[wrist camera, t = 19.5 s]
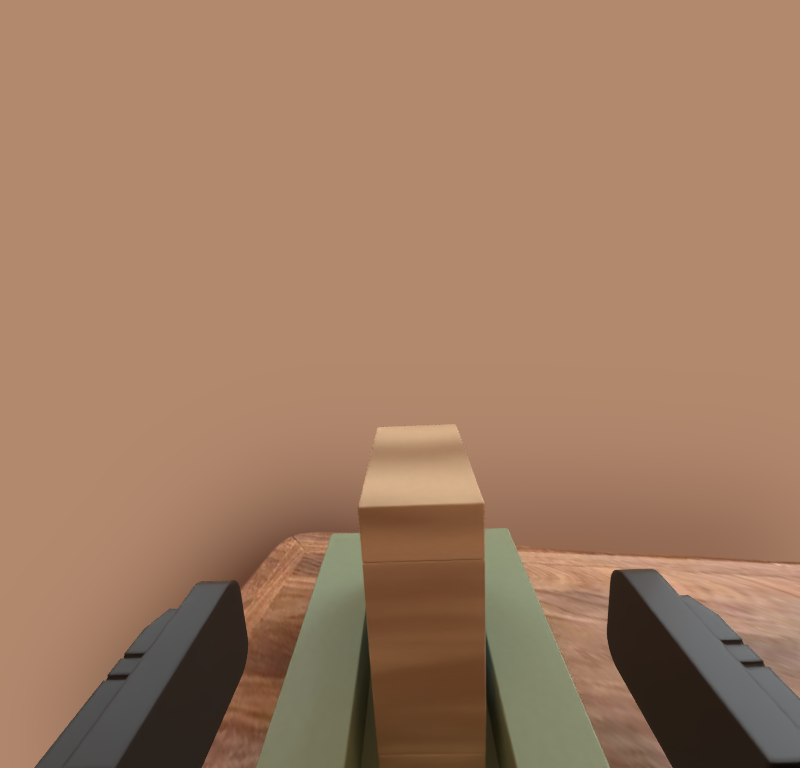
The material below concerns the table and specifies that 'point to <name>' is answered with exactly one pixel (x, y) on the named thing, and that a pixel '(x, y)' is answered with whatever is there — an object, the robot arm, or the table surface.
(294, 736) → the holder
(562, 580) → the table surface
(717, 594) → the table surface
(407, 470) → the wooden block with panel
